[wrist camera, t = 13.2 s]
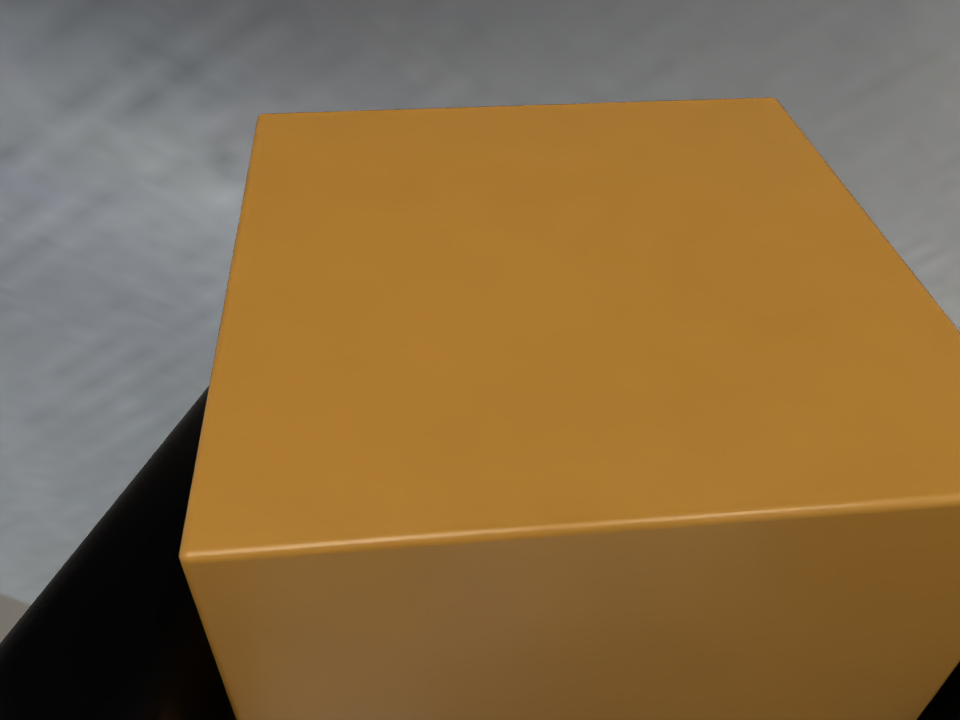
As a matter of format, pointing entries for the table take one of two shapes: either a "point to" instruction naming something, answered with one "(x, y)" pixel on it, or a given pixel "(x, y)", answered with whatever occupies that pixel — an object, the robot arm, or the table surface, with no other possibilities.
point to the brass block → (572, 426)
